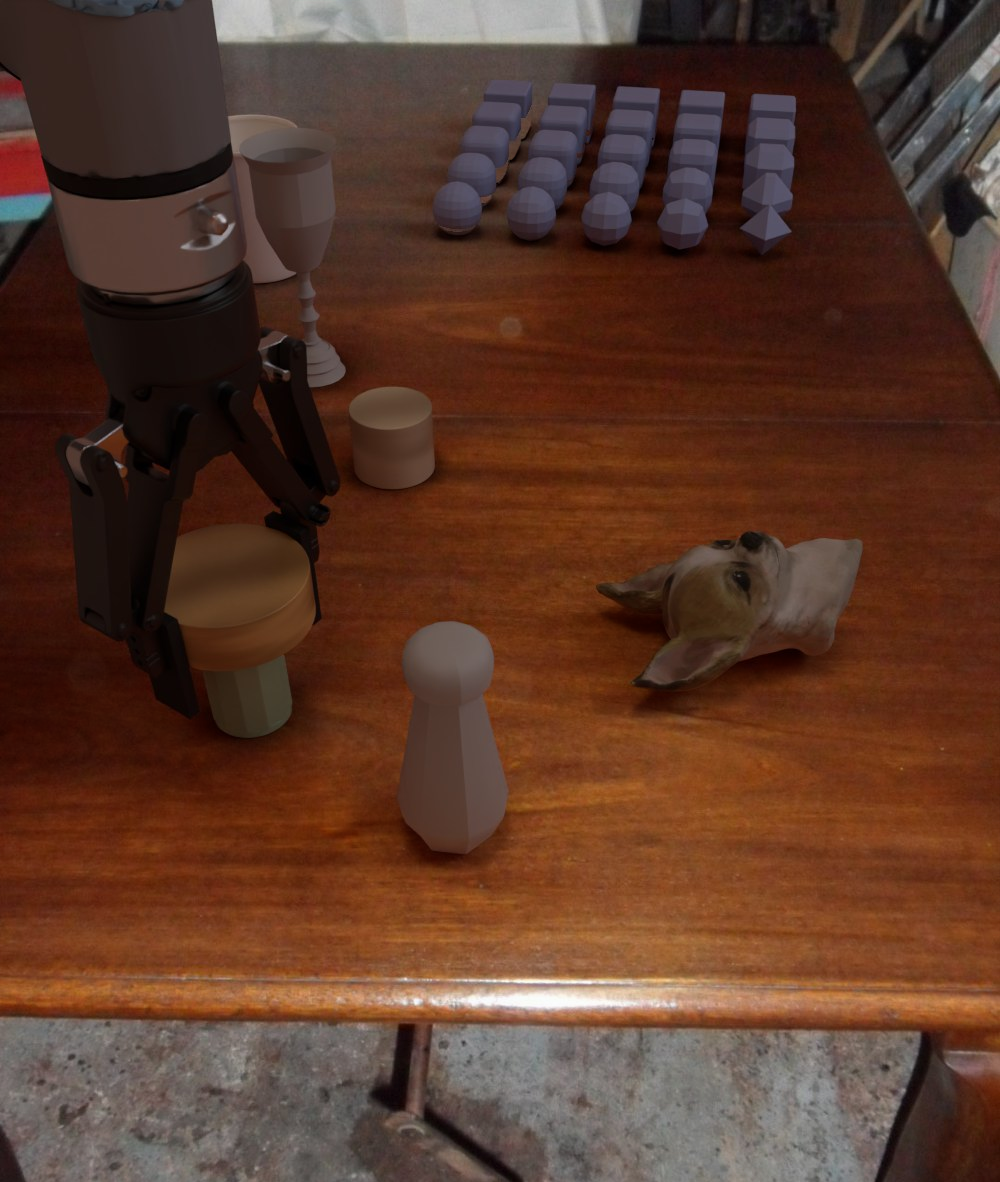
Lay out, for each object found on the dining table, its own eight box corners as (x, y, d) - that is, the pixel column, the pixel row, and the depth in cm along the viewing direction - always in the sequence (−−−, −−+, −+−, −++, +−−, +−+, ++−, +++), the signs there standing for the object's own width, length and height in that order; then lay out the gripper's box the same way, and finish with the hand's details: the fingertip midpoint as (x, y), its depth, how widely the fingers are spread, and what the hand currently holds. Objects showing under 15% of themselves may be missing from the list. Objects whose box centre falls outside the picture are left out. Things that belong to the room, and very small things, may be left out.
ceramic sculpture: (904, 572, 65) (635, 614, 64) (878, 688, 71) (633, 728, 70) (833, 468, 72) (592, 504, 71) (816, 581, 78) (594, 615, 77)
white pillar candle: (347, 452, 90) (340, 393, 86) (423, 440, 91) (420, 381, 88) (363, 495, 86) (357, 434, 82) (444, 482, 87) (441, 421, 84)
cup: (208, 692, 71) (187, 601, 66) (285, 677, 72) (269, 586, 67) (218, 745, 68) (196, 653, 63) (298, 728, 69) (283, 636, 64)
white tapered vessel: (332, 271, 113) (318, 137, 104) (237, 297, 109) (215, 160, 100) (285, 236, 119) (268, 107, 110) (193, 259, 115) (169, 127, 106)
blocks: (788, 141, 137) (796, 95, 134) (787, 268, 113) (796, 215, 110) (491, 123, 142) (491, 78, 138) (428, 241, 118) (426, 190, 114)
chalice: (314, 343, 102) (287, 121, 90) (374, 365, 100) (356, 139, 87) (254, 378, 98) (218, 149, 86) (316, 402, 95) (288, 169, 83)
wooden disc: (142, 582, 67) (130, 538, 65) (300, 554, 69) (293, 511, 67) (157, 686, 61) (145, 642, 59) (330, 652, 63) (324, 608, 61)
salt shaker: (382, 849, 62) (361, 665, 53) (425, 774, 66) (413, 590, 57) (485, 880, 61) (482, 697, 52) (524, 802, 65) (527, 618, 56)
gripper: (10, 397, 43) (140, 804, 59) (390, 208, 56) (414, 585, 72) (-112, 340, 47) (43, 740, 62) (274, 172, 59) (321, 541, 75)
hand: (241, 657), depth 67 cm, fingers closed on wooden disc, 9 cm apart
